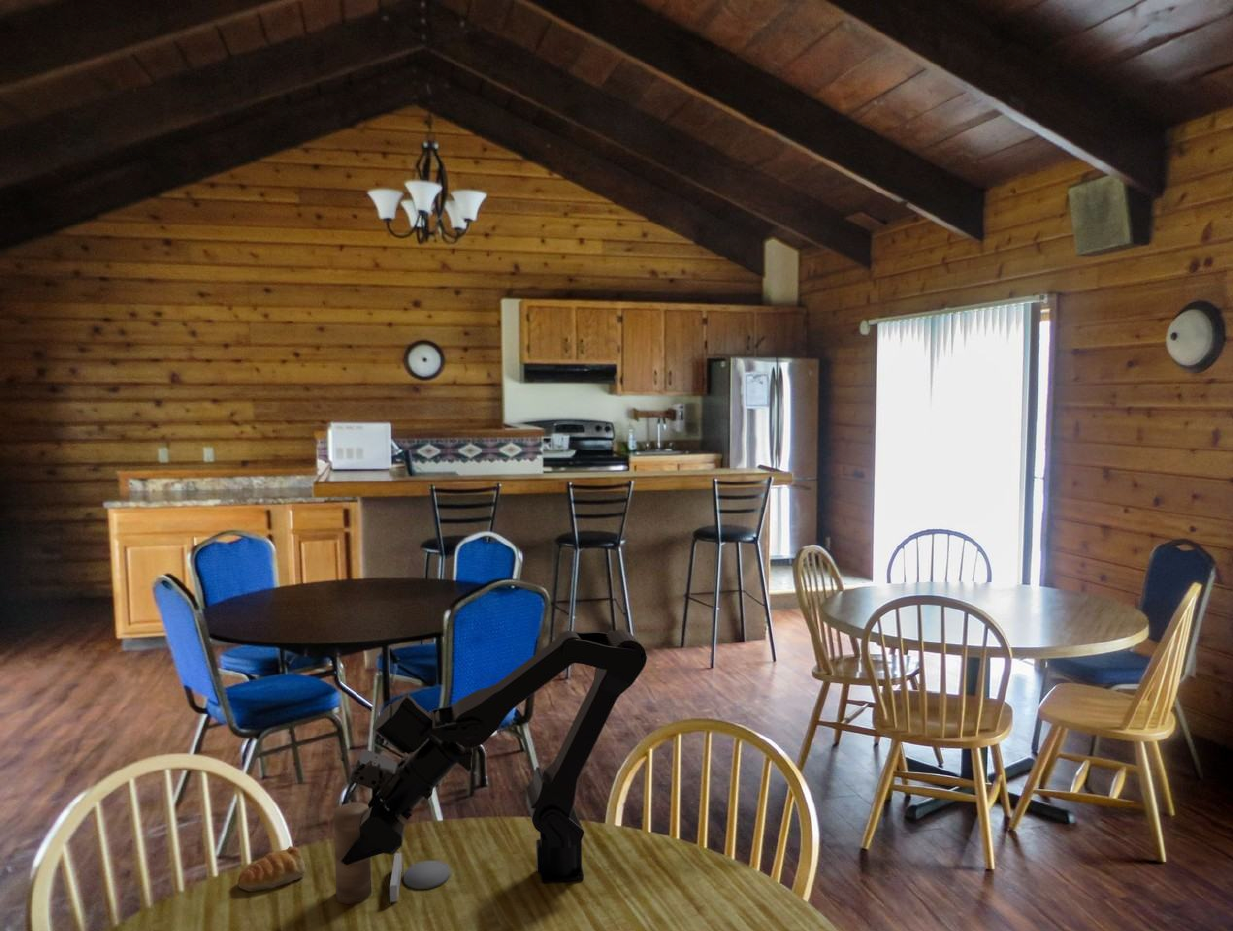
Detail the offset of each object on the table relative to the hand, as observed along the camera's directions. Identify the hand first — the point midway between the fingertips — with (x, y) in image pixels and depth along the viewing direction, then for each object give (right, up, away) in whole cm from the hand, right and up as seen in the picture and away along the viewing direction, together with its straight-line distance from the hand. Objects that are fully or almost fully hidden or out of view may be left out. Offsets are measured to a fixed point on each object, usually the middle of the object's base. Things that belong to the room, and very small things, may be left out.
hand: (349, 845), depth 130 cm
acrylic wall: (+6, -7, +3) cm, 10 cm away
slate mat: (+10, -7, +5) cm, 14 cm away
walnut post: (+1, -7, +1) cm, 8 cm away
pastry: (-13, -8, +5) cm, 16 cm away
